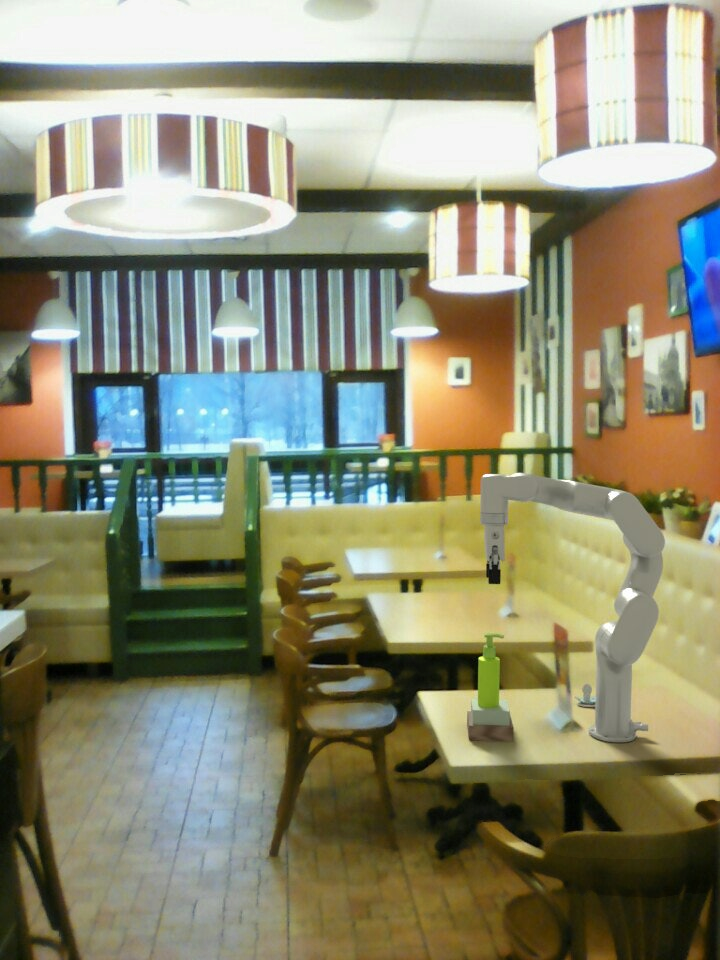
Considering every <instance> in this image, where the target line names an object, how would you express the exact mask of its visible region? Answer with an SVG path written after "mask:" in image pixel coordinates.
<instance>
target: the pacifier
mask: <svg viewBox="0 0 720 960" xmlns="http://www.w3.org/2000/svg"><path fill="white" fill-rule="evenodd" d="M581 691H582V694H583V697H582V698H581V697H578V696H576V695H575V696H574V699H576V700H577V701H578V702H579V703H577V705H578V706H580V707H583V708H595V701H596V695H595V696H592V697H591V694H592V692H593V689H592V686H591V685H590V684H588V683H585V684H584V685H582V688H581Z"/></svg>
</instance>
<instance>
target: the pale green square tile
mask: <svg viewBox="0 0 720 960" xmlns="http://www.w3.org/2000/svg"><path fill="white" fill-rule="evenodd" d="M470 701H471V702H470V711H471V716H472V723H473V724H474V725H501V726H510V716H511V712H510V707H509V704H508V700H507V699H499V706H498V707H496V708H484V707H480V706H479V705H478V698H471V700H470Z"/></svg>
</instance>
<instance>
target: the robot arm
mask: <svg viewBox="0 0 720 960" xmlns="http://www.w3.org/2000/svg"><path fill="white" fill-rule="evenodd" d="M509 501H513V502H514V501H515V502H521V503H527V502H533V503H538V504H543V505H546V506H550V507H554V508H556V509H559V510H561V511H564V512H569V513H573V514H579V515H582V516H583V515H585V516H590V517H595V518H600V519H605V520H610V521H614V523H615V524H616V525H617V527H618V528H619V530H620V532H621V533H622V539H623V543H624V545H625V547H626V548H627V549H628V551H629V553H630V565H629V567H628V570H627V573H626V575H625V578H624V580H623V582H622V585H621V586H620V587H619V588H620V589H619V591H618V593H617V595H616V597H615V599H614V604H613V607H614V611H615V613H616V614H617V616H619V617H618V619H617V621H613V620H612V621H607V622H605V623H603V624H601V625H600V626H599V628H598V629H597V631H596V634H595V638H594V647H595V657H596V658H595V661H596V662H595V663H596V673H595V674H596V675H595V676H596V677H595V696H596V701H595V707H594V708H595V710H594V724H592V725H591V726H590V727H589V728H588V734H589V735H590V736H591V737H593V738H595V739H597V740H600V741H604V742H608V743H628V742H632V741H634V740H635V739H636V738H637V732H638V731H639V732H640V731H641V732H648V731H649V724H648V723H642V721H633V720H632V718H631V716H632V714H631V713H632V691H633V690H632V687H633V666H632V665H634V664H635V663H636V662H637V661H638V660H639V659H640V658H641V656H642V655H643V652H644V651H645V649H646V647H647V645H648V642H650V638H651V636H652V634H653V632H654V630H655V628H656V625H657V623H658V620H659V613H660V612H659V609H660V608H659V605H658V603H657V601H656V600H655V599H654V598H653V597H654V595H655V593H656V591H657V587H658V585H659V583H660V580H661V578H662V573H663V570H664V558H663V553H662V552H663V551H664V549H665V546H666V545H665V544H666V539H665V536H664V533H663V532H662V530H661V529H660V528H659V526H658V524H657V523H656V522H655V521H654V519H653V518H652V517H651V515H650V514H649V513H648V511H647V510H646V509H645V508H644V506H643V504H642V503H641V502H640V501H639V499H638V498H637V497H636V496H635V495H634V494H633V493H630V492H628V491H625V490H621V489H616V488H611V487H606V486H601V485H594V484H589V483H585V482H579V481H573V480H567V479H566V480H565V479H558V478H550V477H547V476H546V477H545V476H540V475H535V474H530V473H525V472H516V473H513V474H511V475H505V474H501V473H500V474H498V473H489V474H488V473H487V474H483V475H482V476H481V479H480V511H479V512H480V513H479V514H480V521H479V523H480V525H482V526H484V554H485V555H484V556H485V558H486V565H485V566H486V569H485V575H486V578H488V580H487V582H488V585H500V584H501V575H502V574H501V571H502V570H501V562H502V563H503V562H504V561H505V560H506V559H505V558H506V556H505V555H506V554H505V552H506V551H505V550H506V548H505V547H506V545H505V542H506V541H505V534H506V533H505V526H508V525H509Z"/></svg>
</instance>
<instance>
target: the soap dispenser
mask: <svg viewBox="0 0 720 960" xmlns="http://www.w3.org/2000/svg"><path fill="white" fill-rule="evenodd" d="M484 638H486V640H485V641H486V643H485V644H484V645H483V647H482V648H483V649H482V650H483V651H482V656H479V657H478V665H477V666H478V667H477V669H478V670H477V671H478V672H477V675H478V676H477V699H478V705H479V706H480V707H484V708H496V707H498V706H499V700H500V676H501V675H500V672H501V671H500V670H501V666H500V665H501V659H500V658H499V657H497V656H496V645H494V642H493V638H499V639H502V640H503V639H504V638H505V635H503V634H499V633H484Z"/></svg>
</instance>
